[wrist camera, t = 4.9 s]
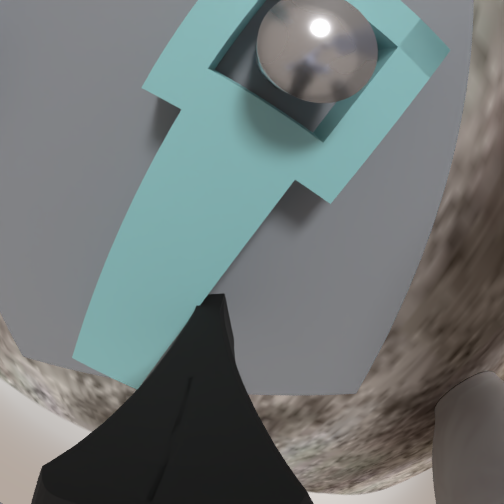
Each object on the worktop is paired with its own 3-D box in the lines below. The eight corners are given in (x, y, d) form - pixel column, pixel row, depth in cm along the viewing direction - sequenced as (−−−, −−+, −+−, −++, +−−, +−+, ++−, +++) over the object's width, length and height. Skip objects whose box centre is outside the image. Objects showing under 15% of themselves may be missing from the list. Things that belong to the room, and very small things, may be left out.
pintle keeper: (336, -46, 6) (384, -100, 2) (320, 110, 8) (366, 137, 5) (-14, -2, 5) (-87, -1, 2) (-19, 121, 8) (-92, 155, 4)
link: (269, -63, 4) (272, -83, 3) (425, 50, 6) (450, 49, 5) (61, 323, 11) (49, 345, 10) (165, 375, 12) (160, 399, 11)
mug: (393, 410, 17) (425, 542, 9) (508, 333, 14) (573, 459, 6) (440, 440, 22) (464, 524, 13) (518, 388, 18) (554, 471, 10)
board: (449, -72, 4) (467, -80, 3) (351, 374, 15) (355, 393, 14) (-11, -58, 3) (-28, -62, 2) (31, 340, 14) (23, 356, 13)
